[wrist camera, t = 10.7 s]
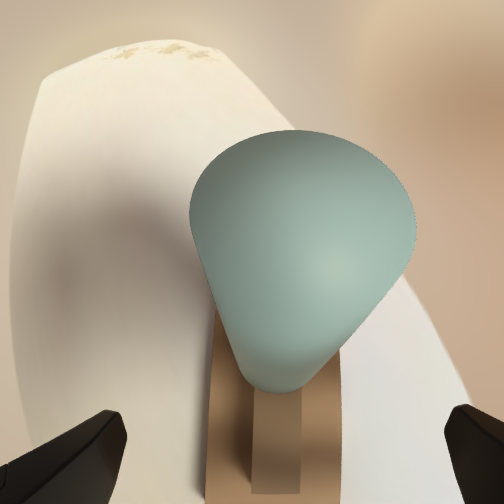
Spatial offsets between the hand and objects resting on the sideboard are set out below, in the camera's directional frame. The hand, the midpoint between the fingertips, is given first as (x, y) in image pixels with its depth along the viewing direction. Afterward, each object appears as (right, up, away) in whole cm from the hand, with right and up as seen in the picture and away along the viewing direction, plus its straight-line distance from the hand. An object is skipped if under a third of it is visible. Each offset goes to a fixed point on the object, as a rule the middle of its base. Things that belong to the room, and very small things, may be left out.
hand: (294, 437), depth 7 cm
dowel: (0, -1, +10) cm, 10 cm away
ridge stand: (+1, -3, +13) cm, 14 cm away
